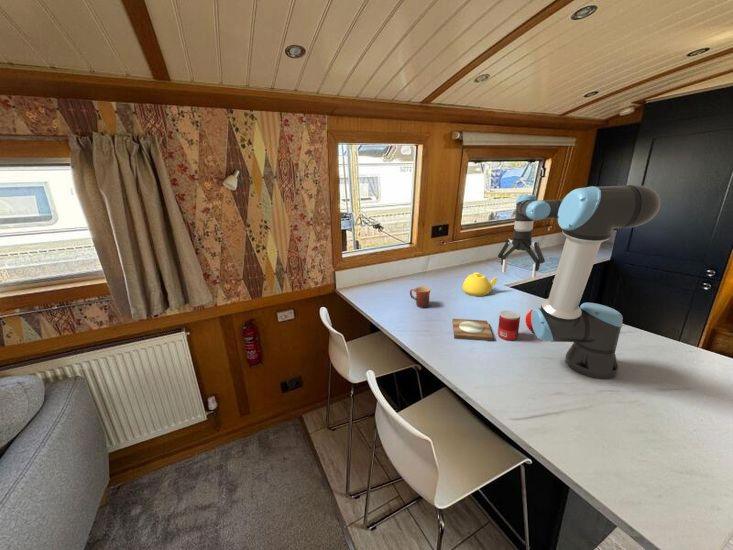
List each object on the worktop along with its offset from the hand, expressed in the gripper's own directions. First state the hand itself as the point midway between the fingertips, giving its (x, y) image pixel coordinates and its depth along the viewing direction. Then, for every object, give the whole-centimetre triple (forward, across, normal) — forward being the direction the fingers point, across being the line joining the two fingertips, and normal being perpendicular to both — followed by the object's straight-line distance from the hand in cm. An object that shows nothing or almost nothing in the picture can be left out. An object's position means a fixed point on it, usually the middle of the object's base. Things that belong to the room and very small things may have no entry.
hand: (518, 274), depth 136 cm
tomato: (+23, -13, +6) cm, 27 cm away
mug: (+23, +44, +19) cm, 53 cm away
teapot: (+23, +31, -23) cm, 45 cm away
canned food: (+24, -6, +20) cm, 31 cm away
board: (+23, +8, +26) cm, 36 cm away
